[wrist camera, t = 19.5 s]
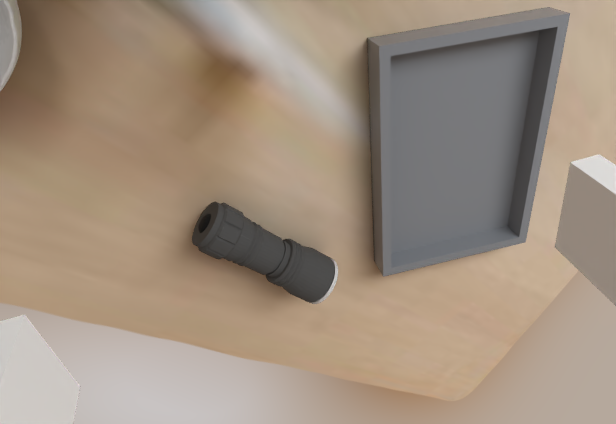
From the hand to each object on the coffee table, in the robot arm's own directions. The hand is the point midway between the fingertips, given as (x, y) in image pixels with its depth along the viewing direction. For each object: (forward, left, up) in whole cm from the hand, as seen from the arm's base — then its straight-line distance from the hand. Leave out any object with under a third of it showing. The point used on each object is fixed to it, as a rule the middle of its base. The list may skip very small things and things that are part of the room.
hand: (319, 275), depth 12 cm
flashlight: (+17, -2, -27) cm, 32 cm away
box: (+17, +22, -33) cm, 43 cm away
